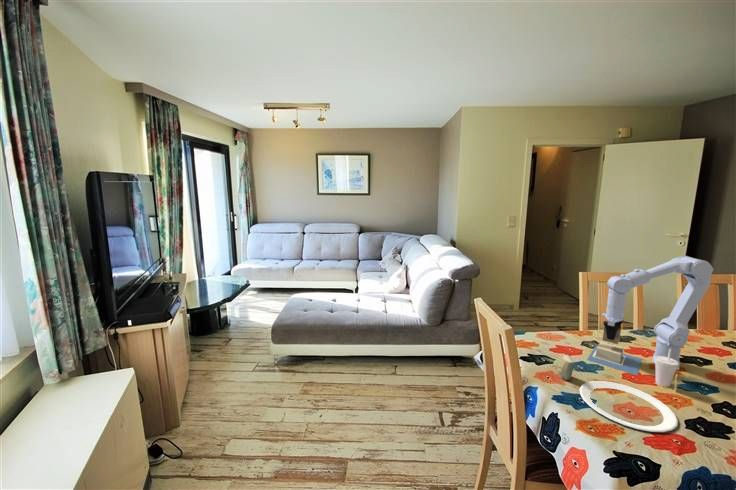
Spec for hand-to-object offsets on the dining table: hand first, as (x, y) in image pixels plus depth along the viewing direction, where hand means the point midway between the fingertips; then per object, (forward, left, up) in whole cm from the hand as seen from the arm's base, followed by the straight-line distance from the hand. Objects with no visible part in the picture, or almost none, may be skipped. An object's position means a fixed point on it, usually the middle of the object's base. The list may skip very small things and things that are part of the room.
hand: (611, 337), depth 131 cm
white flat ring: (+33, +9, -10) cm, 36 cm away
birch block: (0, 0, -9) cm, 9 cm away
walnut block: (0, 0, -1) cm, 1 cm away
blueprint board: (+1, +2, -9) cm, 10 cm away
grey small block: (+29, -9, -10) cm, 32 cm away
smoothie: (+10, +17, -10) cm, 22 cm away
